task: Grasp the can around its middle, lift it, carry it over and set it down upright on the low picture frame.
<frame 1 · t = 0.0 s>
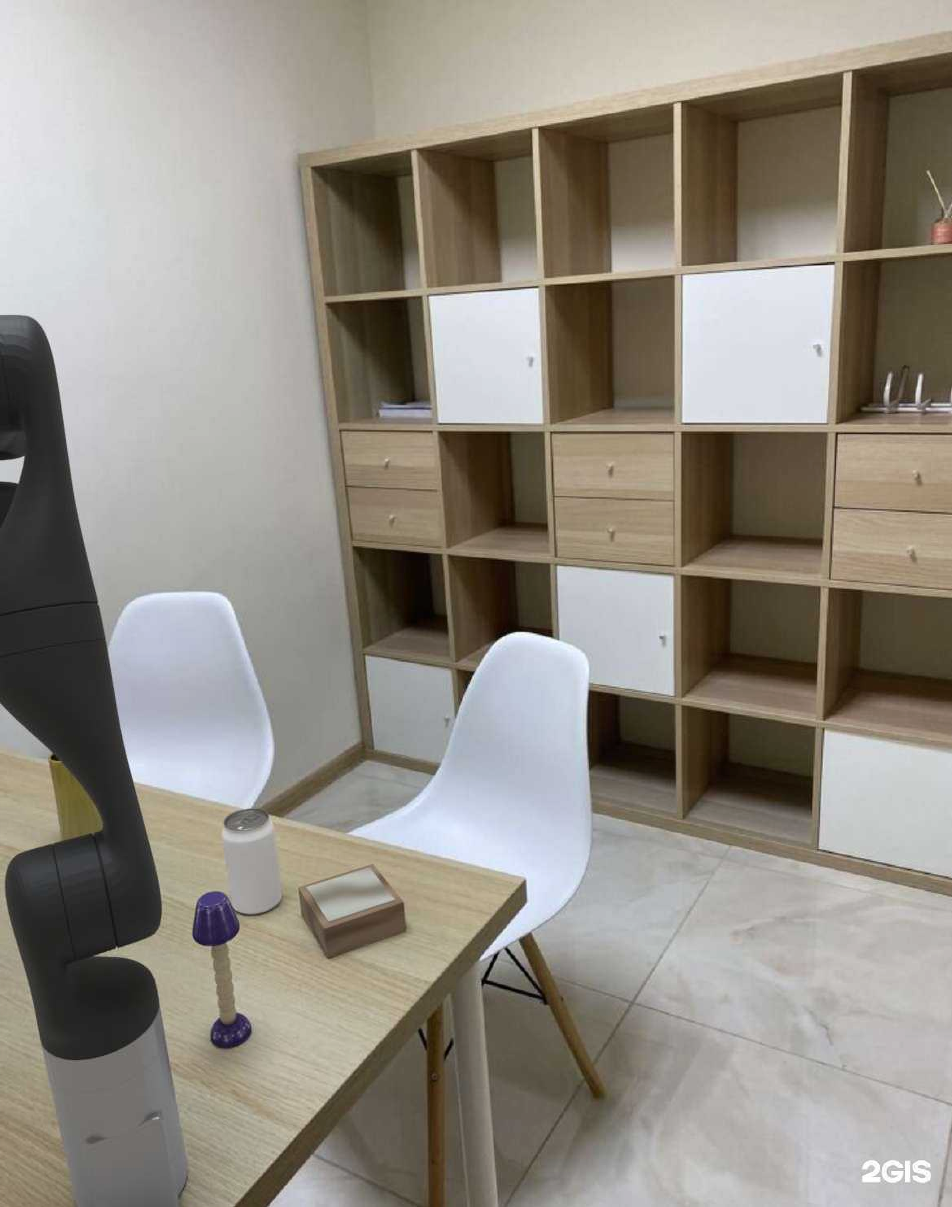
hand: (35, 708, 114), 29 cm above the table, fingers open, 8 cm apart
can: (257, 902, 124), on the table
vase: (84, 843, 142), on the table
toy lamp: (231, 1037, 101), on the table
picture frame: (352, 922, 119), on the table
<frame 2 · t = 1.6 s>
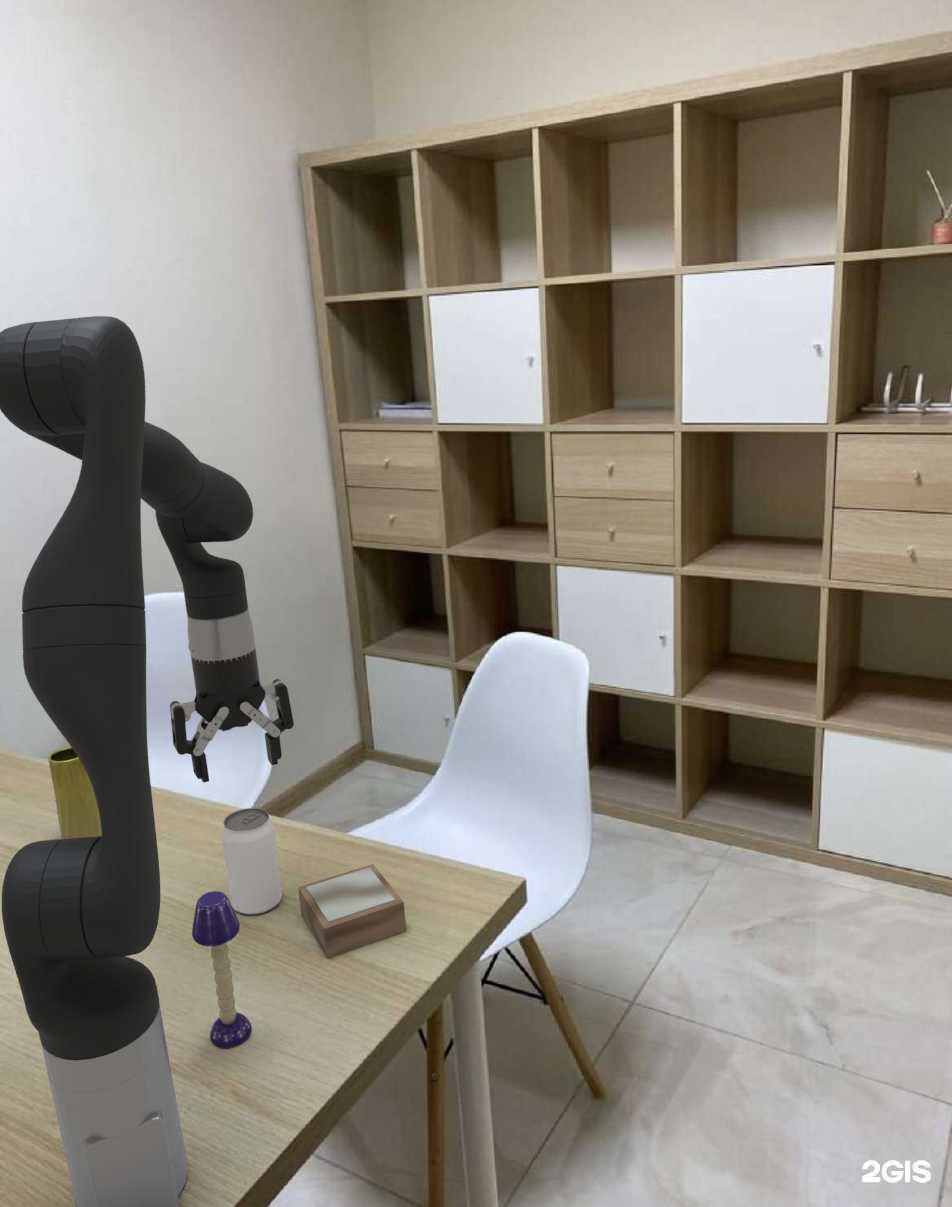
hand: (239, 771, 119), 19 cm above the table, fingers open, 8 cm apart
nothing on the table moved.
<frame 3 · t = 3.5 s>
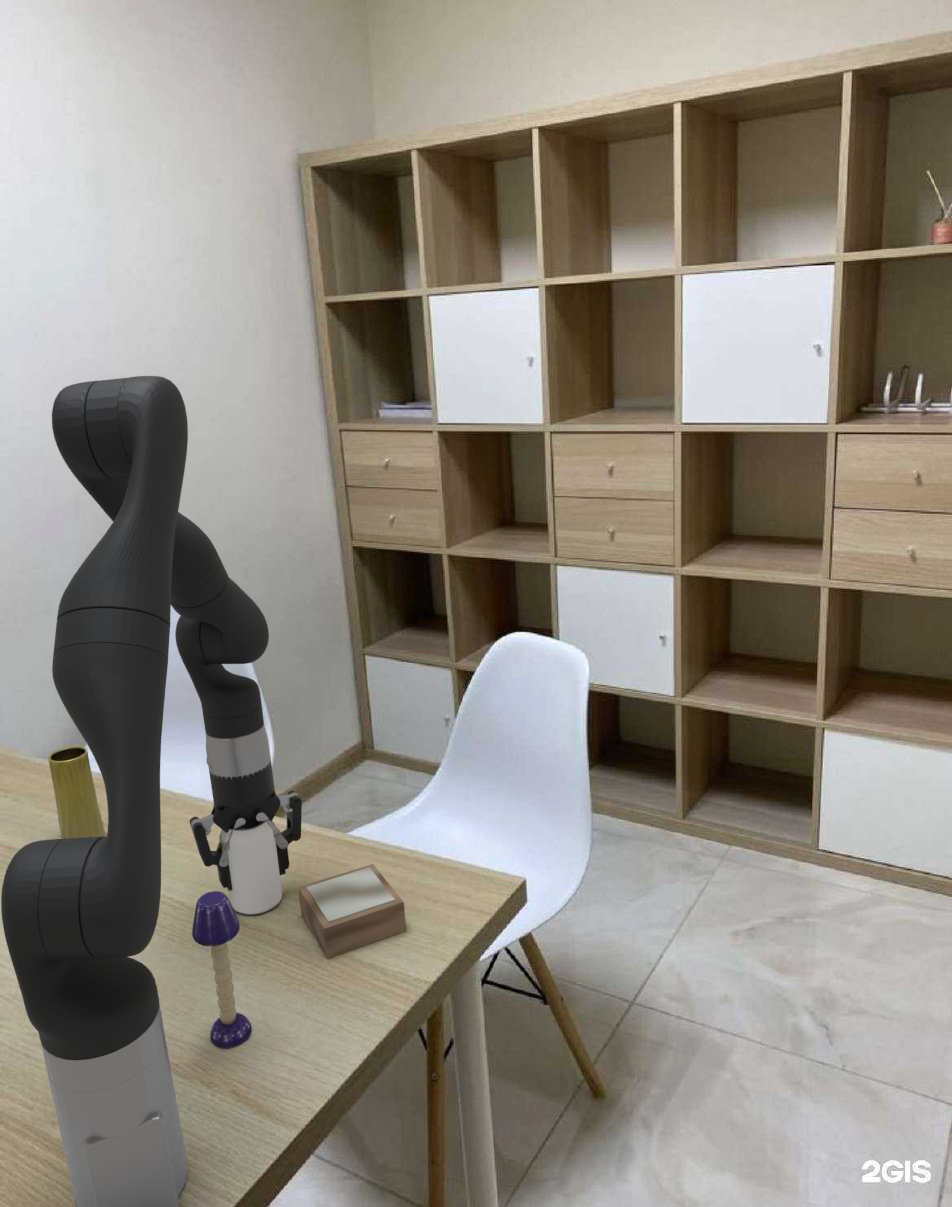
hand: (255, 879, 124), 3 cm above the table, fingers closed on can, 6 cm apart
can: (257, 903, 124), on the table, touching gripper
everything else where it was.
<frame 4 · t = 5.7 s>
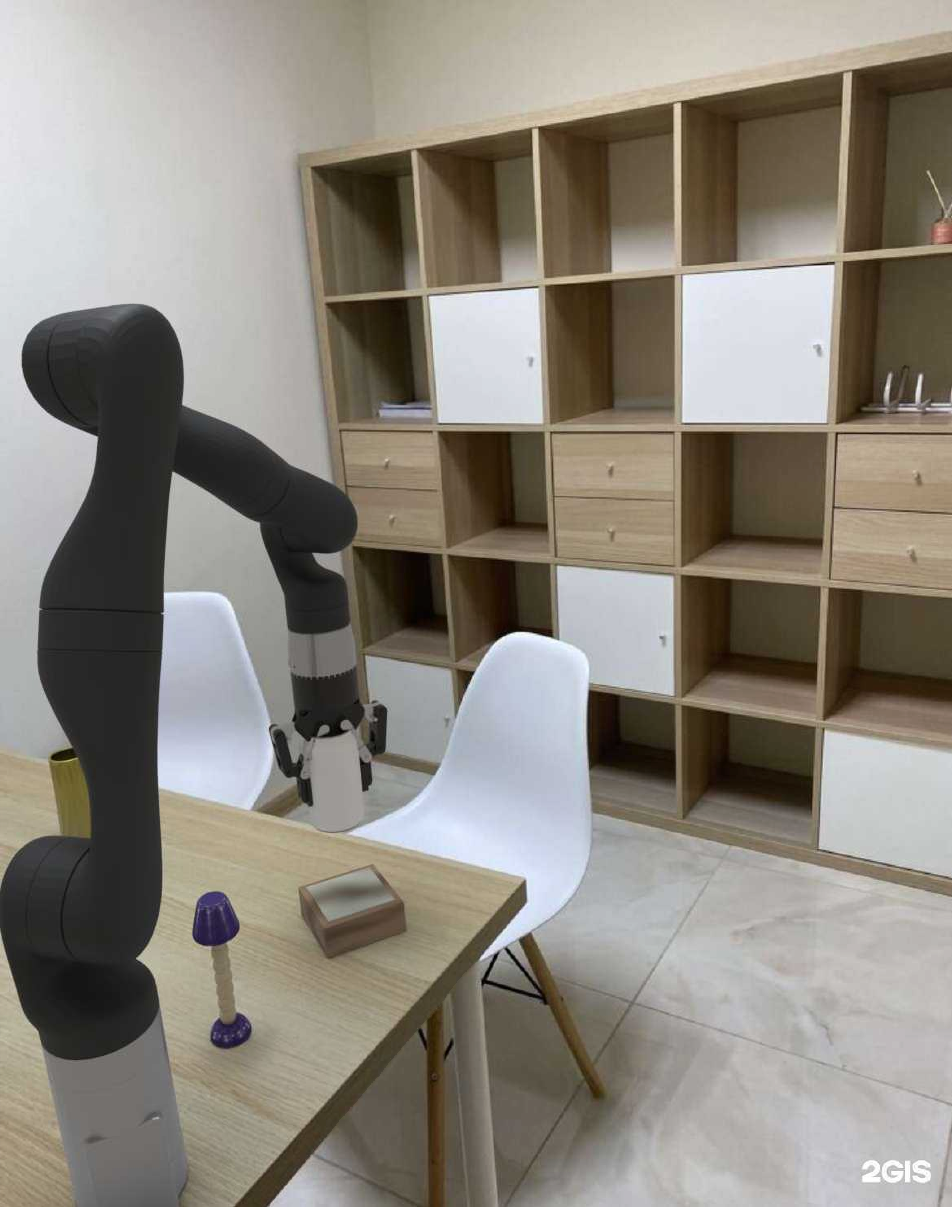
hand: (336, 795, 114), 17 cm above the table, fingers closed on can, 6 cm apart
can: (337, 822, 115), point 14 cm above the table, touching gripper
everything else where it was.
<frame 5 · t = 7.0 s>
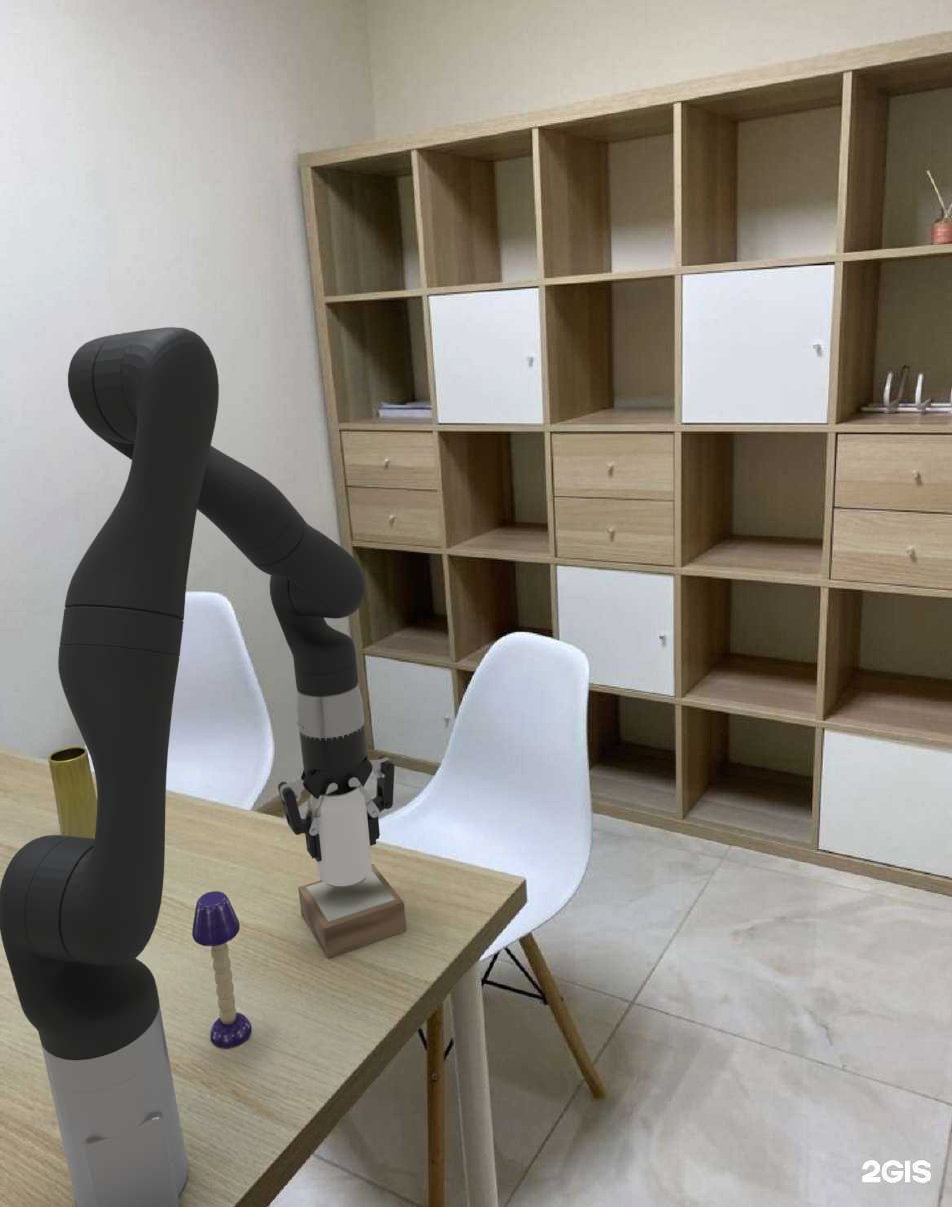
hand: (344, 849, 116), 10 cm above the table, fingers closed on can, 6 cm apart
can: (345, 875, 117), point 7 cm above the table, touching gripper
everything else where it was.
when the fingers open (8 cm above the table, at t = 8.0 s): can stays where it is, resting on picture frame.
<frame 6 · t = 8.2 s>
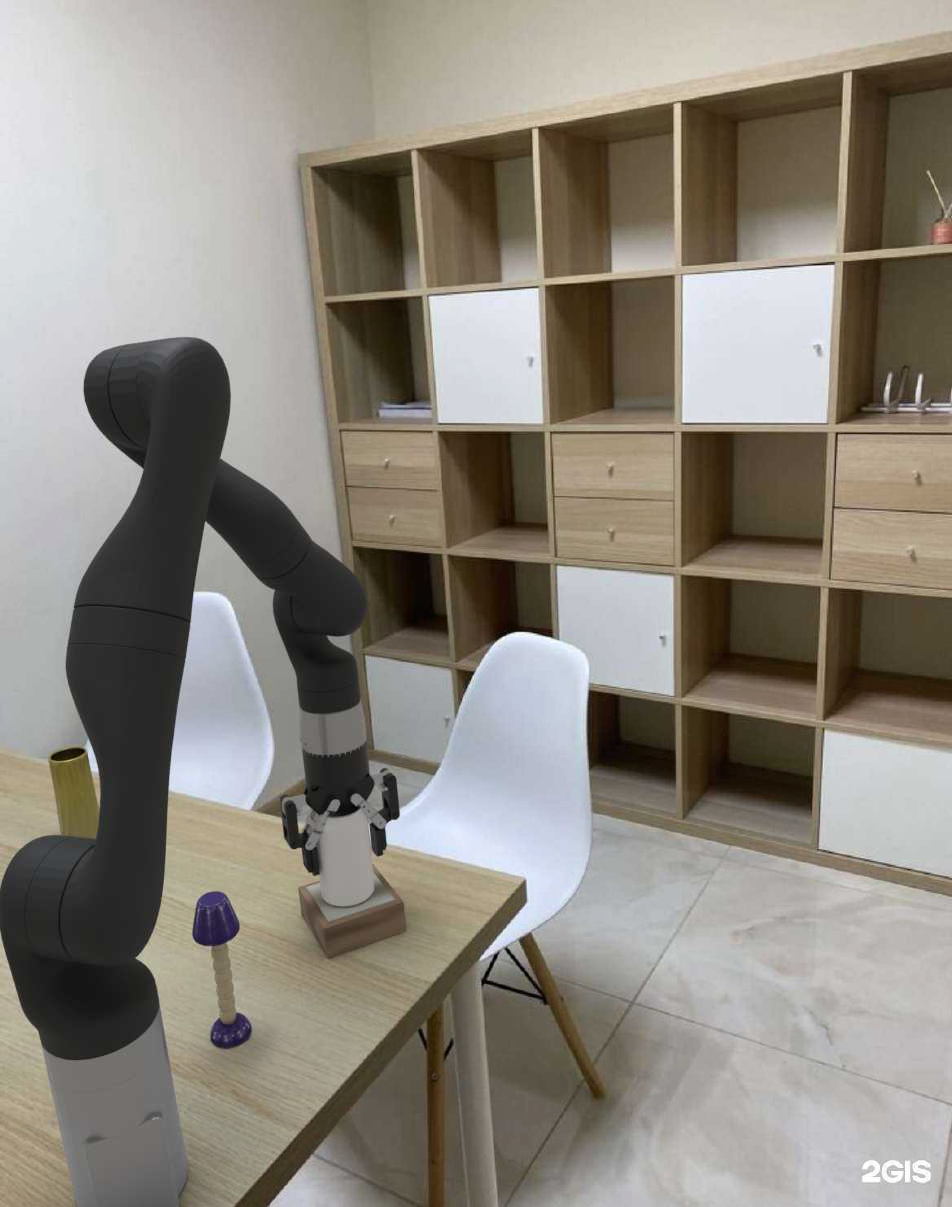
hand: (346, 862, 116), 8 cm above the table, fingers open, 7 cm apart
can: (348, 894, 118), point 4 cm above the table, touching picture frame
everything else where it was.
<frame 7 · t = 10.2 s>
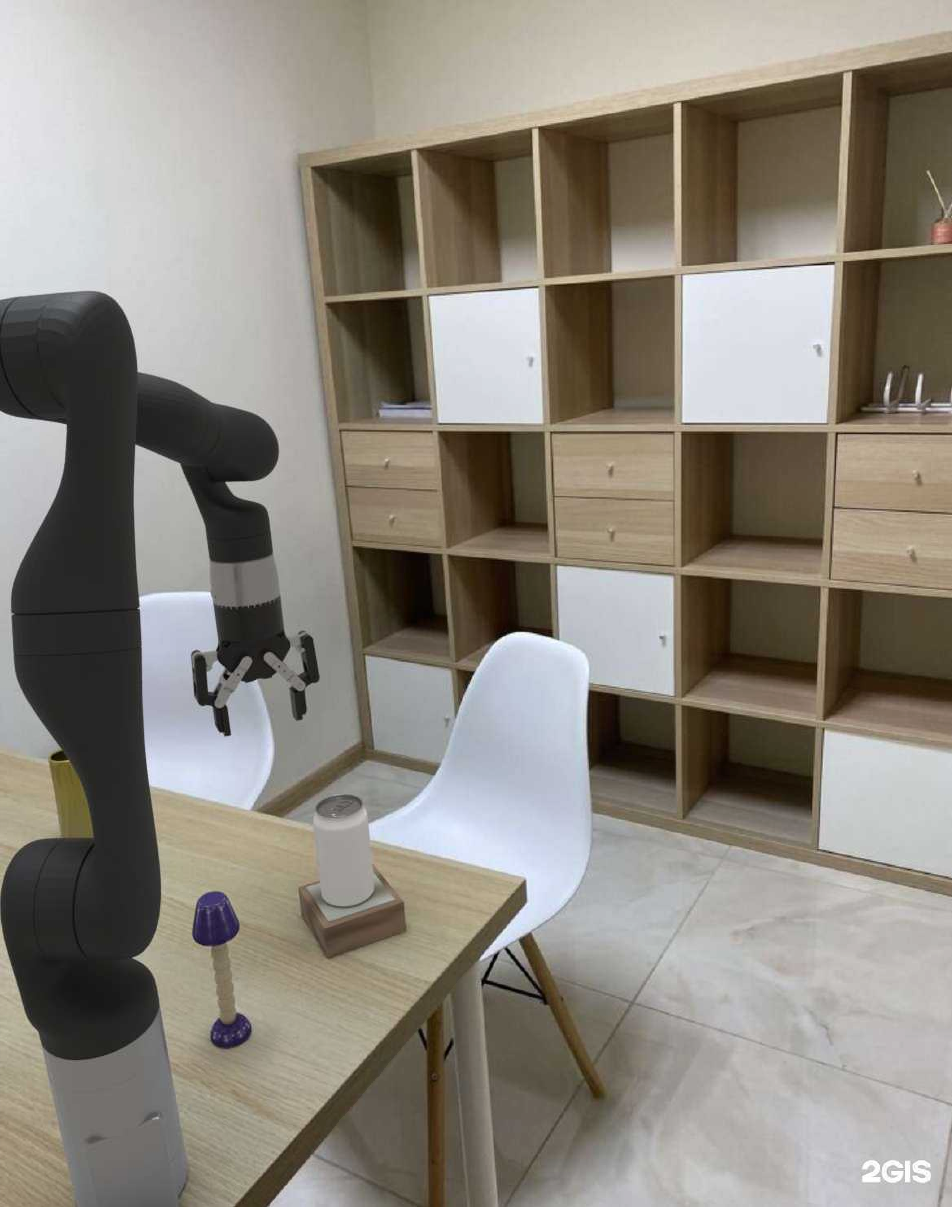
hand: (262, 726, 114), 26 cm above the table, fingers open, 8 cm apart
nothing on the table moved.
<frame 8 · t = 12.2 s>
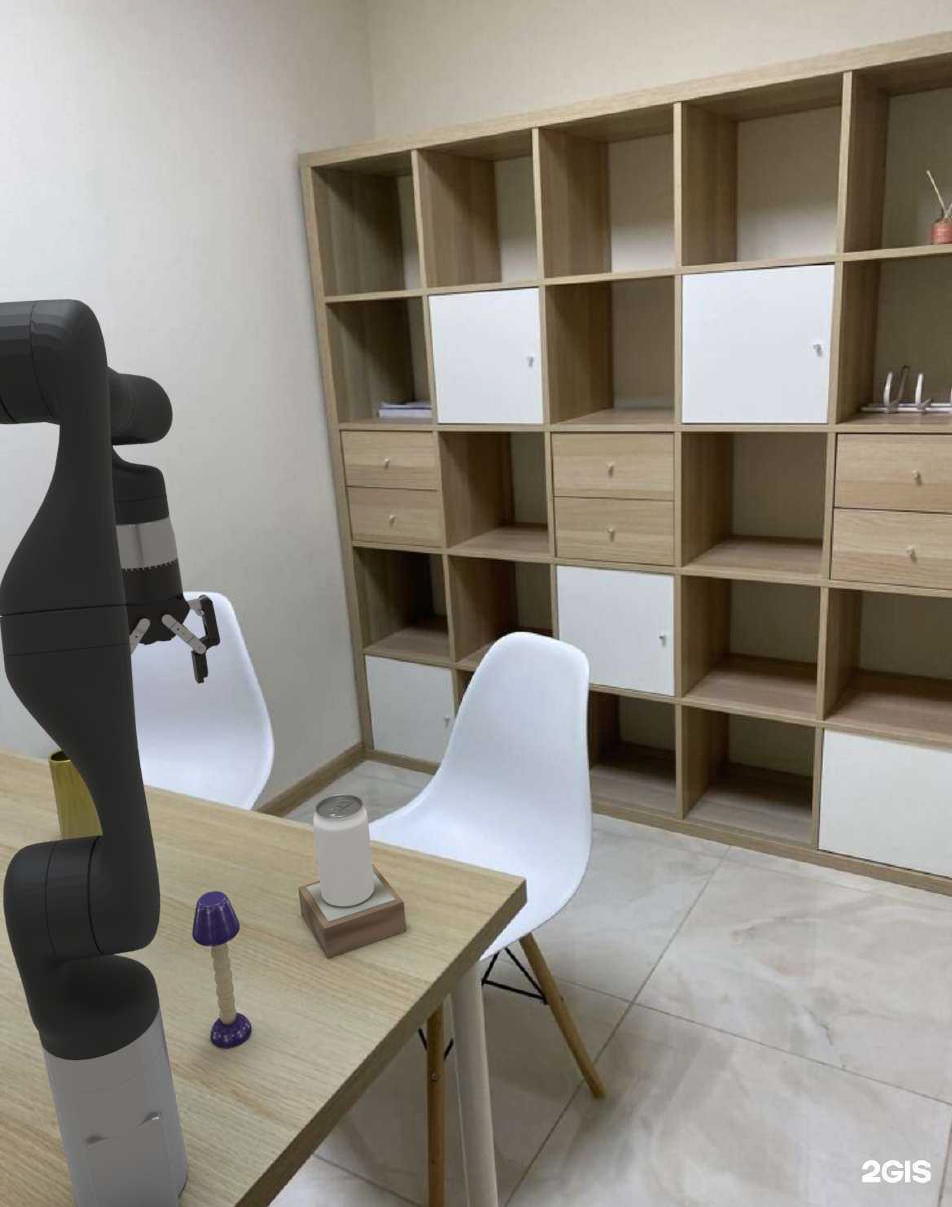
hand: (164, 688, 115), 30 cm above the table, fingers open, 8 cm apart
nothing on the table moved.
at the end: can inside the target area on the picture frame (0.2 cm from its centre), point 4.0 cm above the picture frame's base; can tilted 0°; the gripper is holding nothing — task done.
